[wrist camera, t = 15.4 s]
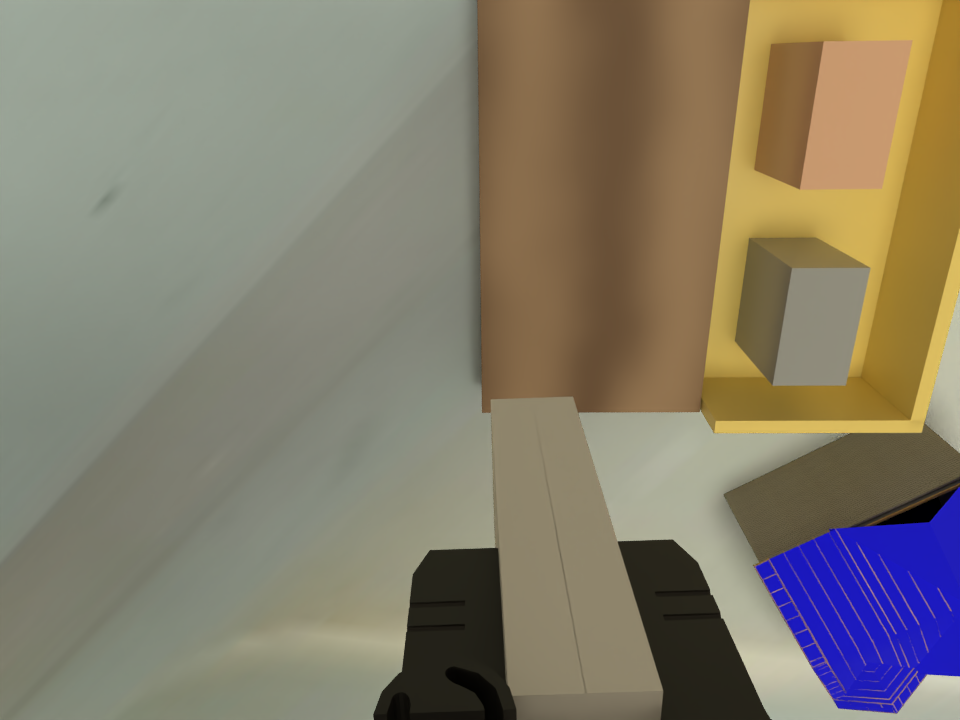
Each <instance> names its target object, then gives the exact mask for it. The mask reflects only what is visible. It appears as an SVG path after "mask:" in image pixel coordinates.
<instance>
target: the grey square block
mask: <svg viewBox="0 0 960 720" xmlns="http://www.w3.org/2000/svg"><path fill="white" fill-rule="evenodd" d="M870 269H871V268H870V267H868V266H866V265H865V264H863V263H861V262H859V261H858V260H856V259H854V258H852V257H850V256H849V255H847V254H845V253H843V252H841V251H840V250H838V249H836V248H834V247H833V246H831V245H829V244H827V243H825V242H824V241H822V240H820V239H818V238H816V237H810V238H749V243H748V250H747V257H746V264H745V271H744V278H743V286H742V293H741V300H740V307H739V314H738V321H737V328H736V336H735V342H736V343H737V344H738V346H739V347H740V348H741V349H742V350H743V352H744V353H745V354H746V355H747V356H748V357H749V359H750V360H751V361H752V362H753V363H754V364H755V366H756V367H757V368H758V369H759V370H760V371H761V373H762V374H763V375H764V376H765V377H766V379H767V380H768V381H769V382H770V383H771V384H772V386H846V382H847V378H848V373H849V368H850V363H851V359H852V354H853V349H854V345H855V340H856V335H857V330H858V326H859V321H860V316H861V311H862V307H863V302H864V297H865V292H866V288H867V283H868V278H869V273H870Z"/></svg>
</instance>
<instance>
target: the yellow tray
mask: <svg viewBox="0 0 960 720" xmlns="http://www.w3.org/2000/svg"><path fill="white" fill-rule="evenodd" d="M891 40H913V41H912V46H911V51H910V56H909V60H908V65H907V70H906V75H905V80H904V85H903V89H902V94H901V99H900V104H899V109H898V114H897V119H896V123H895V128H894V133H893V138H892V143H891V148H890V153H889V157H888V162H887V167H886V172H885V177H884V182H883V186H882V189H819V190H799V189H797V188H795V187H793V186H790V185H788V184H786V183H783V182H781V181H779V180H776V179H774V178H772V177H770V176H767V175H765V174H763V173H760V172H758V171H756V170H754V167H755V160H756V152H757V145H758V138H759V130H760V123H761V116H762V108H763V101H764V93H765V86H766V79H767V71H768V64H769V56H770V49H771V44H777V43H800V42H822V41H891ZM810 237H816V238H818V239H820V240H822V241H824V242H825V243H827V244H829V245H831V246H833V247H834V248H836V249H838V250H840V251H841V252H843V253H845V254H847V255H849V256H850V257H852V258H854V259H856V260H858V261H859V262H861V263H863V264H865V265H866V266H868V267H870V268H871V269H870V273H869V278H868V283H867V288H866V292H865V297H864V302H863V307H862V311H861V316H860V321H859V326H858V330H857V335H856V340H855V345H854V349H853V354H852V359H851V363H850V368H849V373H848V378H847V382H846V386H772V384H771V383H770V382H769V381H768V380H767V379H766V377H765V376H764V375H763V374H762V373H761V371H760V370H759V369H758V368H757V367H756V366H755V364H754V363H753V362H752V361H751V360H750V359H749V357H748V356H747V355H746V354H745V353H744V352H743V350H742V349H741V348H740V347H739V346H738V344H737V343H736V342H735V336H736V328H737V321H738V314H739V307H740V300H741V293H742V286H743V278H744V271H745V264H746V257H747V250H748V243H749V238H810ZM959 289H960V0H750V5H749V13H748V22H747V30H746V38H745V46H744V54H743V62H742V70H741V79H740V87H739V95H738V103H737V111H736V119H735V127H734V136H733V144H732V152H731V160H730V168H729V176H728V184H727V193H726V201H725V209H724V217H723V225H722V233H721V241H720V250H719V258H718V266H717V274H716V282H715V290H714V298H713V307H712V315H711V323H710V331H709V339H708V347H707V355H706V363H705V372H704V380H703V388H702V396H701V404H700V410H701V412H702V413H703V415H704V417H705V418H706V420H707V422H708V424H709V425H710V427H711V429H712V430H713V432H714V433H922V430H923V426H924V422H925V418H926V414H927V411H928V407H929V403H930V399H931V395H932V392H933V388H934V384H935V380H936V376H937V373H938V369H939V365H940V361H941V357H942V354H943V350H944V346H945V342H946V338H947V335H948V331H949V327H950V323H951V319H952V316H953V312H954V308H955V304H956V300H957V297H958V293H959Z"/></svg>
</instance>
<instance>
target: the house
mask: <svg viewBox="0 0 960 720" xmlns="http://www.w3.org/2000/svg"><path fill="white" fill-rule="evenodd" d="M724 496H725V498H726V500H727V502H728V504H729V506H730V508H731V509H732V511H733V513H734V515H735V517H736V519H737V521H738V523H739V525H740V526H741V528H742V530H743V532H744V534H745V536H746V538H747V540H748V542H749V543H750V545H751V547H752V549H753V551H754V553H755V555H756V557H757V559H758V560H759V562H760V563H758V564H755V565H753V566H754V568H755V569H756V571H757V573H758V575H759V576H760V578H761V580H762V582H763V583H764V585H765V587H766V589H767V590H768V592H769V594H770V595H771V597H772V599H773V601H774V602H775V604H776V606H777V608H778V609H779V611H780V613H781V615H782V616H783V618H784V620H785V622H786V623H787V625H788V627H789V629H790V630H791V632H792V634H793V636H794V637H795V639H796V641H797V643H798V644H799V646H800V648H801V650H802V651H803V653H804V655H805V657H806V658H807V660H808V662H809V664H810V665H811V667H812V669H813V670H814V672H815V673H816V675H817V676H818V678H819V679H820V681H821V682H822V684H823V686H824V687H825V689H826V690H827V692H828V693H829V695H830V696H831V698H832V699H833V700H834V702H835V704H836V705H837V707H838V708H840V709H851V710H862V711H873V712H885V713H896V714H897V713H898V712H899V710H900V709H901V708H902V706H903V705H904V704H905V703H906V701H907V700H908V699H909V697H910V696H911V695H912V694H913V692H914V691H915V690H916V688H917V687H918V686H919V685H920V683H921V682H922V681H923V679H924V678H925V677H926V676H927V674H928V675H946V676H960V453H958V452H957V451H956V450H955V449H954V448H953V447H951V446H950V445H949V444H948V443H947V442H946V441H944V440H943V439H942V438H941V437H940V436H938V435H937V434H936V433H935V432H934V431H933V430H931V429H930V428H929V427H928V426H927V425H925V424H924V426H923V430H922V433H850V434H848V435H846V436H844V437H842V438H840V439H838V440H836V441H833V442H831V443H829V444H827V445H825V446H823V447H821V448H819V449H817V450H815V451H813V452H811V453H809V454H806V455H804V456H802V457H800V458H798V459H796V460H794V461H792V462H790V463H788V464H786V465H784V466H781V467H779V468H777V469H775V470H773V471H771V472H769V473H767V474H765V475H763V476H761V477H759V478H757V479H754V480H752V481H750V482H748V483H746V484H744V485H742V486H740V487H738V488H736V489H734V490H732V491H729V492H727V493H725V494H724ZM936 497H938V498H939V500H940V503H941V505H942V508H941V509H940V510H939V512H938V513H937V514H936V515H935V516H934V518H933V519H932V520H931V521H930V522H927V523H912V524H897V525H882V526H874V525H876V524H878V523H880V522H882V521H885V520H887V519H889V518H891V517H894V516H896V515H898V514H900V513H903V512H905V511H907V510H909V509H911V508H914V507H916V506H918V505H920V504H923V503H925V502H927V501H929V500H931V499H934V498H936Z"/></svg>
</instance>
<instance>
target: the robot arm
mask: <svg viewBox="0 0 960 720" xmlns="http://www.w3.org/2000/svg"><path fill="white" fill-rule="evenodd" d="M491 431H492V466H493V500H494V530H495V548H482V549H452V550H430V551H429V552H428V554H427V555H426V556H425V558H424V559H423V561H422V562H421V564H420V565H419V566H418V568H417V569H416V571H415V572H414V574H413V578H412V587H411V596H410V608H409V614H408V623H407V632H406V641H405V650H404V659H403V668H402V672H401V673H399V674H398V675H397V676H396V677H395V678H394V679H393V680H392V682H391V683H390V684H389V685H388V686H387V687H386V688H385V689H384V690H383V691H382V693H381V696H380V698H379V701H378V704H377V706H376V709H375V711H374V714H373V715H374V720H772V719H770V717H769V716H768V714H767V713H766V711H765V709H764V707H763V705H762V703H761V701H760V699H759V696H758V694H757V692H756V690H755V688H754V685H753V683H752V681H751V679H750V677H749V674H748V672H747V670H746V668H745V666H744V663H743V661H742V659H741V657H740V655H739V652H738V650H737V648H736V646H735V644H734V641H733V639H732V637H731V635H730V633H729V630H728V628H727V626H726V624H725V622H724V619H721V615H720V611H719V608H718V606H717V604H716V602H715V600H714V597H713V595H711V594H710V589H709V586H708V584H707V582H706V580H705V578H704V575H703V573H702V571H701V569H700V567H699V564H698V562H697V561H696V560H694V559H693V558H692V557H691V556H690V555H689V554H688V553H687V552H686V551H685V550H684V549H682V548H681V547H680V546H679V545H678V544H677V543H676V542H675V541H674V540H647V541H618V542H617V539H616V535H615V532H614V529H613V525H612V522H611V519H610V516H609V512H608V509H607V506H606V503H605V499H604V496H603V493H602V490H601V486H600V483H599V480H598V477H597V473H596V470H595V467H594V464H593V460H592V457H591V454H590V451H589V447H588V444H587V441H586V438H585V434H584V431H583V428H582V425H581V421H580V418H579V415H578V411H577V408H576V405H575V402H574V398H573V397H545V398H516V399H491Z"/></svg>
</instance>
